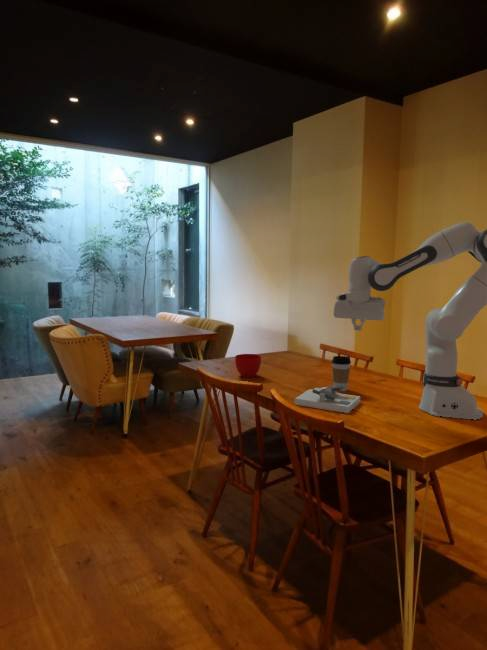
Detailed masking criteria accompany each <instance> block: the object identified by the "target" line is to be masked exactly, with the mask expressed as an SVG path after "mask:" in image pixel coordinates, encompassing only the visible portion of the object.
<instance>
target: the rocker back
mask: <svg viewBox="0 0 487 650" xmlns="http://www.w3.org/2000/svg"><path fill="white" fill-rule="evenodd" d="M333 386H334V385H333ZM320 389H322V390H326V389H332V391H336V392H341V391H340V390H342V389H343V386H334V387H331V386H324V387H320Z"/></svg>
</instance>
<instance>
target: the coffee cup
mask: <svg viewBox="0 0 487 650" xmlns="http://www.w3.org/2000/svg"><path fill="white" fill-rule="evenodd" d="M331 363H332V380H333V386H343V389H342V390H340V391H339V392H347V391H348V386H349V378H350V371H351V367H350V366H351V364H352V361H351V357H349V356H346V355H345V356H343V355H335V356H333V357H332V359H331Z"/></svg>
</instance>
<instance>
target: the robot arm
mask: <svg viewBox="0 0 487 650" xmlns="http://www.w3.org/2000/svg"><path fill="white" fill-rule="evenodd" d="M465 252H467V253H468V254H470V255H471V256H472V257H473V258H474V259H475V260H476V261H478V262H480V263H481V264H480V266H479V268H478V269H477V270H476V271H474V273H473V274H472V275H471V276H470V277H469V278H468V279H467V280H466V281H464V283H463V284H462V285H460V287H458V288H457V289H456V290H455V292H454V294H453V295H452V296H451V297H450V299H449V300H448V301H447V303H445V305H444V307H438V308H434V309H432V310H431V311H429V313H428V314H427V315H426V317H425V321H424V322H425V324H424V325H425V326H424V327H425V349H426V351H425V352H426V353H425V371H424V373H423V379H422V386H423V390H422V395H421V399H420V403H419V405H418V408H419V409H420V410H421V411H423V412H425V413H428V414H430V415H432V416H433V415H434V417H440V416H442V418H450V417H451V418H452V419H461V418H462V419H461V420H463V419H464V420H471V419H473V420H474V421H478V420H477V419H479V420H481V419H482V418H483V417H484V411H483V410H482V409H481V408H480V407H478V402H477V399H476V397H475V395H473V394H472V393H471V392H470V391H469V390H468V389H466V387H464V386H463V385H462V384H463V378H462V376H460V375H458V374H457V372H458V371H457V370H458V349H457V339H459V338H461V336H462V335H463V333H464V331H466V329H467V328H468V327H469V325H470V324H471V323H472V322H473V320H474V319H475V317H476V316H477V315H478V314H479V313H480V312H481V310H482V309H484V308H485V306H487V228H486V229H485V230H483V231H482V232H480V231H478V230H477V229H476V227H475V225H473V224H472V223H470V222H468V221H461V222H459V223H457V224H453V225H451V226H449V227H446V228H444V229H442V230H440V231H437V232H436V233H434V234H432V235H431V236H429V237H428V238H427V239H426V240H424V241H423V242H422V243H421V244H420V246H418V248H416V249H415V250H413V251H412V252H410V253H409V254H407V255H405V256H403V257H402V258H399V259H398V260H395V261H393V262H390V263H382V262H379V261H377V260H375V259H374V258H372V257H371V256H370V255H364V256H363V255H362V256H358V257H355V258H353V259H352V260H351V261H350V263H349V269H348V280H349V281H348V282H349V284H348V292H344V293H341V294H337V295H336V301H335V304H334V307H333V317H334V318H335V319H346V320H347V319H351V321H350V323H352V325H353V330H354V331H363V325H364V324H365V323H366V320H367V321H380V322H381V321H383V320H384V319H385V307H386V300H385V299H384V298H383V297H382V296H381V297H380V296H371V293H372V291H371V290H372V289H373V290H376V291H378V292H384V291H388V290H390V289H391V288H392V287H394V285H395V284H396V283H397V282H398V281H399V279H400V278H402V277H404V276H406V275H408V274H410V273H412V272H413V271H416V270H418V269H420V268H422V267H425V266H431V265H435V264H439V263H442V262H445V261H447V260H450V259H452V258H454V257H456V256H458V255H460V254H462V253H465ZM357 320H360V324H359V325H357V323H356V322H357ZM480 418H481V419H480Z"/></svg>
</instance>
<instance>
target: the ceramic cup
mask: <svg viewBox="0 0 487 650" xmlns="http://www.w3.org/2000/svg"><path fill="white" fill-rule="evenodd" d="M234 357H235V359H234V360H235V367H236V370H237V372H238V374H240V376H241V377H242V378H254V377H255V376H256V375H257V374H258V372H259V371H260V368H261V363H262V355H259V354H255V353H242V354H237V355H235V356H234Z"/></svg>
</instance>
